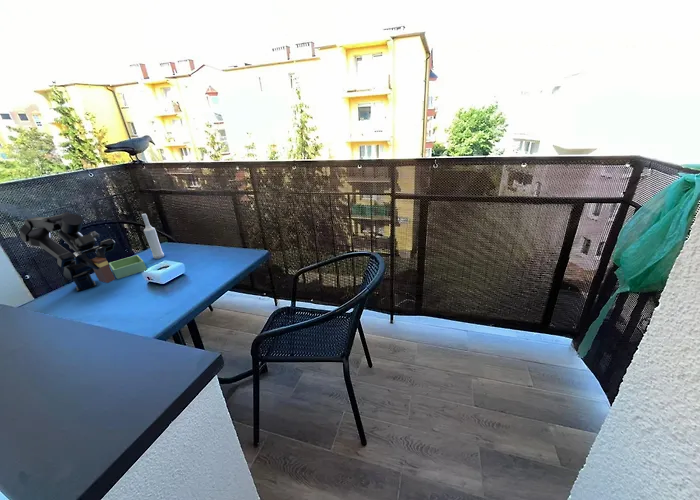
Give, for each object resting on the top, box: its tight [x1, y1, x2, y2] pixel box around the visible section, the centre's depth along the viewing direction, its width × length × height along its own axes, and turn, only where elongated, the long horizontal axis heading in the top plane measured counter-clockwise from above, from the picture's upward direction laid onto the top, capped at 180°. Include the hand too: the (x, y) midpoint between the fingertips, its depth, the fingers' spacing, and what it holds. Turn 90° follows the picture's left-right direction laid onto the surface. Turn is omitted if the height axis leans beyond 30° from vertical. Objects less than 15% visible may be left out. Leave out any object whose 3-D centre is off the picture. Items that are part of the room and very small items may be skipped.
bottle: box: [141, 213, 165, 260], centre depth 147 cm, size 5×5×25 cm
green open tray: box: [108, 254, 147, 280], centre depth 137 cm, size 12×12×5 cm
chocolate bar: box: [89, 256, 116, 284], centre depth 113 cm, size 6×3×10 cm, turn 69°
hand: (102, 267), depth 112 cm, fingers closed on chocolate bar, 3 cm apart
